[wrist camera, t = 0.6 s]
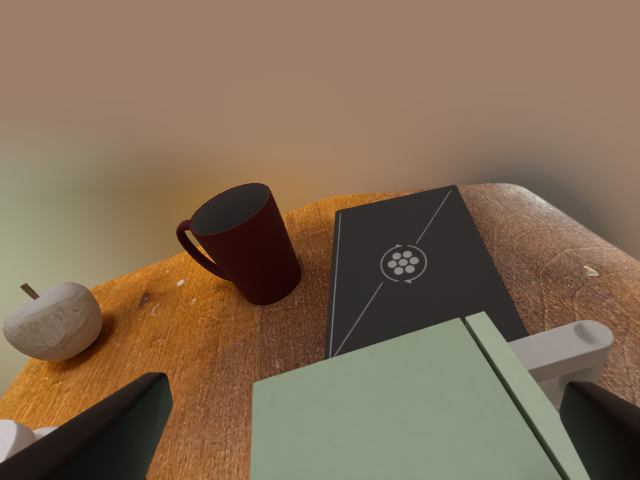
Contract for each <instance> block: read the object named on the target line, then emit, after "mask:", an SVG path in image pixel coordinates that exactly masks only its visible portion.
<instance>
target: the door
mask: <svg viewBox="0 0 640 480" xmlns="http://www.w3.org/2000/svg"><path fill="white" fill-rule="evenodd" d="M465 324H466V329H467V330H468V332H469V333H470V335H471V336H472V338H473V340H474V341H475V343H476V344H477V346H478V347H479V349H480V351H481V352H482V354H483V355H484V357H485V358H486V360H487V362H488V363H489V365H490V366H491V368H492V370H493V371H494V373H495V374H496V376H497V377H498V379H499V381H500V382H501V384H502V385H503V387H504V388H505V390H506V392H507V393H508V395H509V396H510V398H511V399H512V401H513V403H514V404H515V406H516V407H517V409H518V411H519V412H520V414H521V415H522V417H523V418H524V420H525V422H526V423H527V425H528V426H529V428H530V429H531V431H532V433H533V434H534V436H535V437H536V439H537V440H538V442H539V444H540V445H541V447H542V448H543V450H544V452H545V453H546V455H547V456H548V458H549V459H550V461H551V463H552V464H553V466H554V467H555V469H556V470H557V472H558V474H559V475H560V477H561V478H562V480H590V478H589V476H588V474H587V472H586V470H585V468H584V466H583V464H582V462H581V460H580V458H579V456H578V454H577V452H576V450H575V448H574V446H573V444H572V442H571V440H570V438H569V436H568V434H567V432H566V430H565V429H564V427H563V425H562V422H561V419H560V415H559V409H560V405H561V401H562V397H563V394H564V390H565V386H566V384H567V383H568V382H570V381H588V382H592V383H594V384H596V385H597V382H598V380H599V377H600V375H601V372H602V370H603V367H604V365H605V362H606V360H607V357H608V355H609V352H610V350H611V347H612V345H613V342H614V336H613V334H612V332H611V331H610V329H609V328H607V327H606V326H605V325H603V324H601V323H599V322H596V321H592V320H582V321H577V322H573V323H570V324H567V325H564V326H560V327H557V328H554V329H551V330H547V331H544V332H541V333H538V334H535V335H531V336H528V337H525V338H522V339H518V340H515V341H512V342H509V343H507V342H506V340H505V339H504V338H503V336H502V335H501V333H500V332H499V331H498V329H497V328H496V327H495V325H494V324H493V323H492V321H491V320H490V318H489V317H488V316H487V314H486V313H485V312H484V311H483V312H480V313H477V314H474V315H471V316H467V317H465ZM555 377H557V378H555ZM552 378H554V379H552ZM549 379H550V380H549ZM545 380H547V381H545ZM542 381H543V382H542ZM539 382H540V383H539Z"/></svg>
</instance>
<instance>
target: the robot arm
mask: <svg viewBox="0 0 640 480" xmlns="http://www.w3.org/2000/svg"><path fill="white" fill-rule="evenodd" d="M171 409H172V395H171V391H170V386H169V381H168V377H167V375H166V374H165V373H162V372H149V373H146V374H144V375H142V376H141V377H139V378H137V379H136V380H134V381H132V382H131V383H129V384H128V385H126V386H124V387H123V388H121V389H120V390H118V391H116V392H115V393H113V394H111V395H110V396H108V397H107V398H105V399H103V400H102V401H100V402H99V403H97V404H95V405H94V406H92V407H90V408H89V409H87V410H86V411H84V412H82V413H81V414H79V415H77V416H76V417H74V418H73V419H71V420H69V421H68V422H66V423H65V424H63V425H61V426H60V427H58V428H56V429H55V430H53V431H52V432H50V433H48V434H47V435H45V436H43V437H42V438H40V439H39V440H37V441H35V442H34V443H32V444H31V445H29V446H27V447H26V448H24V449H22V450H21V451H19V452H18V453H16V454H14V455H13V456H11V457H9V458H8V459H6V460H5V461H3V462H1V463H0V480H144V478H145V476H146V473H147V471H148V468H149V466H150V463H151V461H152V458H153V456H154V453H155V451H156V448H157V446H158V443H159V440H160V438H161V435H162V433H163V430H164V428H165V425H166V423H167V420H168V418H169V415H170V412H171ZM559 415H560V419H561V422H562V425H563V427H564V429H565V430H566V432H567V434H568V436H569V438H570V440H571V442H572V444H573V446H574V448H575V450H576V452H577V454H578V456H579V458H580V460H581V462H582V464H583V466H584V468H585V470H586V472H587V474H588V476H589V478H590V480H640V408H638V407H637V406H635V405H633V404H631V403H629V402H627V401H625V400H624V399H622V398H620V397H618V396H616V395H614V394H613V393H611V392H609V391H607V390H605V389H603V388H601V387H600V386H598V385H596V384H594V383H592V382H588V381H570V382H568V383H567V384H566V386H565V390H564V394H563V397H562V401H561V405H560V409H559Z"/></svg>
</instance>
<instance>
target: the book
mask: <svg viewBox="0 0 640 480" xmlns="http://www.w3.org/2000/svg"><path fill="white" fill-rule="evenodd" d="M483 311H484V312H485V313H486V314H487V316H488V317H489V318H490V320H491V321H492V323H493V324H494V325H495V327H496V328H497V329H498V331H499V332H500V333H501V335H502V336H503V338H504V339H505V340H506V342H507V343H509V342H512V341H515V340H518V339H522V338H525V337H528V336H529V334H528V332H527V330H526V328H525V326H524V324H523V322H522V320H521V318H520V316H519V314H518V312H517V310H516V308H515V306H514V303H513V301H512V299H511V297H510V295H509V293H508V291H507V289H506V287H505V285H504V283H503V281H502V279H501V277H500V275H499V273H498V271H497V269H496V267H495V264H494V262H493V260H492V258H491V256H490V254H489V252H488V250H487V248H486V246H485V244H484V242H483V240H482V238H481V236H480V234H479V232H478V230H477V228H476V225H475V223H474V221H473V219H472V217H471V215H470V213H469V211H468V209H467V207H466V205H465V203H464V201H463V199H462V197H461V195H460V193H459V191H458V189H457V186H456V185H451V186H447V187H442V188H438V189H433V190H429V191H424V192H420V193H415V194H410V195H406V196H401V197H397V198H392V199H388V200H383V201H379V202H374V203H370V204H365V205H360V206H356V207H351V208H347V209H342V210H338V211H336V213H335V226H334V239H333V252H332V265H331V278H330V291H329V304H328V317H327V330H326V343H325V356H324V360H327V359H330V358H333V357H336V356H339V355H342V354H346V353H349V352H352V351H355V350H358V349H361V348H364V347H368V346H371V345H374V344H377V343H380V342H383V341H386V340H390V339H393V338H396V337H399V336H402V335H405V334H409V333H412V332H415V331H418V330H421V329H424V328H427V327H431V326H434V325H437V324H440V323H443V322H446V321H449V320H453V319H456V318H460V319H461V321H462V322H463V324H464V325H465V327H466V324H465V317H467V316H471V315H474V314H477V313H480V312H483Z"/></svg>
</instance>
